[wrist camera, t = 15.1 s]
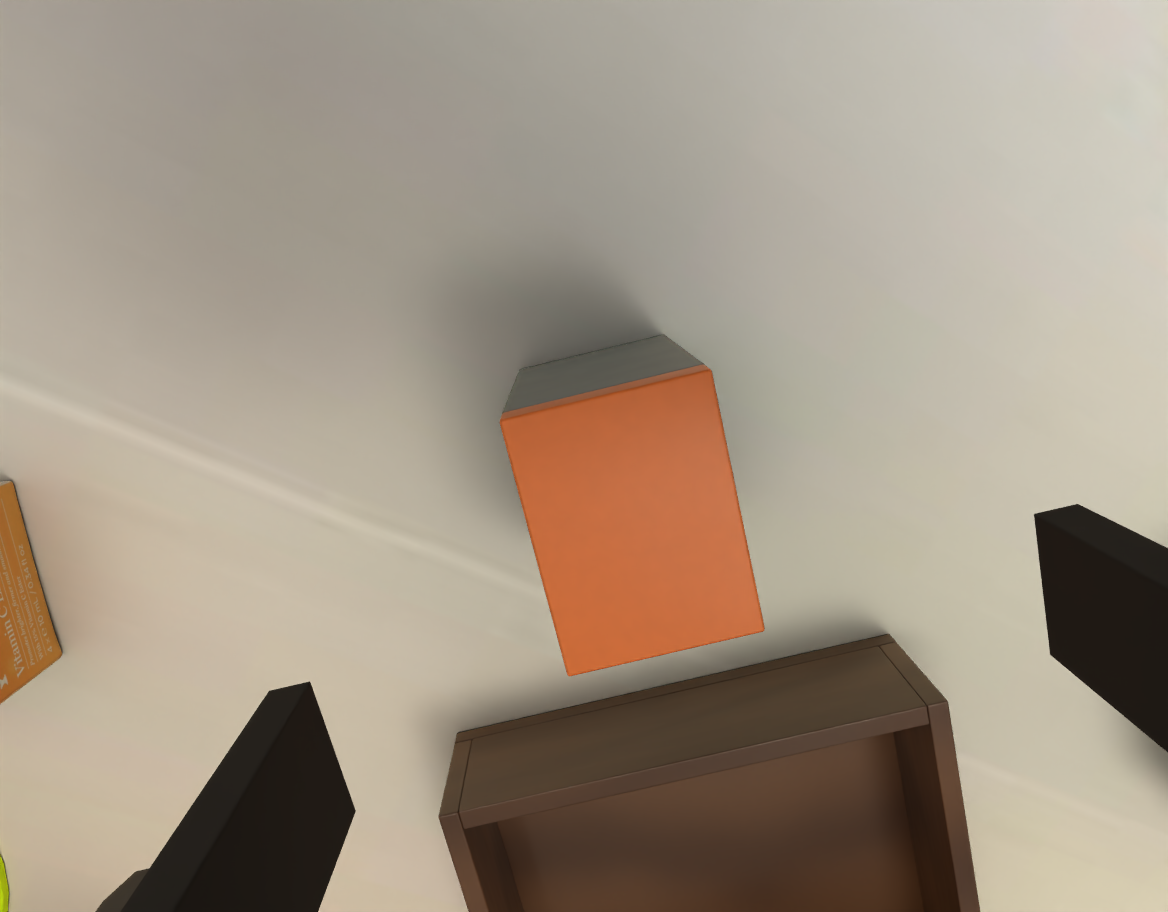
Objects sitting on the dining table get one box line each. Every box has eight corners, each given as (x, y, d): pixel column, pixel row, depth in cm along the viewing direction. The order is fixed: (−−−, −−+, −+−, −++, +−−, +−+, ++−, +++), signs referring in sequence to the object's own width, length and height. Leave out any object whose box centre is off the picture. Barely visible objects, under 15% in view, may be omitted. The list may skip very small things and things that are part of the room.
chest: (456, 732, 37) (437, 816, 32) (889, 633, 37) (948, 700, 31) (542, 1011, 41) (538, 1132, 35) (938, 925, 40) (999, 1033, 35)
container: (519, 369, 34) (498, 420, 23) (664, 334, 34) (711, 368, 23) (566, 552, 36) (567, 677, 25) (704, 519, 35) (766, 632, 25)
